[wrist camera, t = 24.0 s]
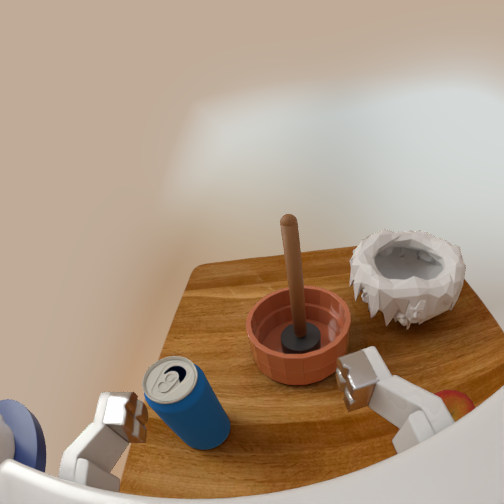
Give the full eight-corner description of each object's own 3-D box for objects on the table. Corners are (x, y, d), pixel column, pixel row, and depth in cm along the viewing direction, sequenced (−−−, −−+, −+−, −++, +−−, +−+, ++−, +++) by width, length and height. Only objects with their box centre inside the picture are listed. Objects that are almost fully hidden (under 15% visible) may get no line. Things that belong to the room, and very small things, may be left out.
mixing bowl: (282, 404, 30) (277, 377, 27) (239, 340, 42) (230, 310, 38) (366, 353, 34) (372, 321, 31) (312, 305, 46) (311, 274, 42)
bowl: (470, 340, 30) (491, 288, 25) (348, 348, 36) (353, 295, 31) (438, 266, 47) (445, 222, 42) (346, 269, 53) (346, 223, 48)
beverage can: (241, 421, 29) (215, 366, 23) (213, 460, 24) (172, 418, 18) (200, 402, 32) (166, 345, 26) (172, 436, 27) (126, 386, 22)
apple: (454, 466, 15) (487, 441, 12) (393, 467, 19) (415, 445, 15) (458, 412, 21) (484, 377, 17) (404, 411, 25) (422, 376, 21)
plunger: (294, 367, 34) (277, 231, 25) (275, 343, 39) (252, 215, 29) (328, 348, 36) (325, 214, 26) (307, 327, 41) (295, 201, 31)
